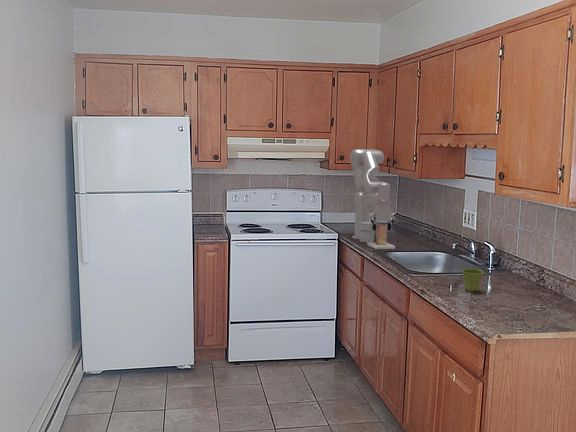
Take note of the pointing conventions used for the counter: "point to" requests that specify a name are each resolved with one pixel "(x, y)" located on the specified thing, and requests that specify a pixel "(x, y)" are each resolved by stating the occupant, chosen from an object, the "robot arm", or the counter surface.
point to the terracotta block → (381, 230)
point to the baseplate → (381, 246)
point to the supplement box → (367, 232)
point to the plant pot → (472, 279)
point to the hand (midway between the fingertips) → (381, 230)
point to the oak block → (381, 239)
